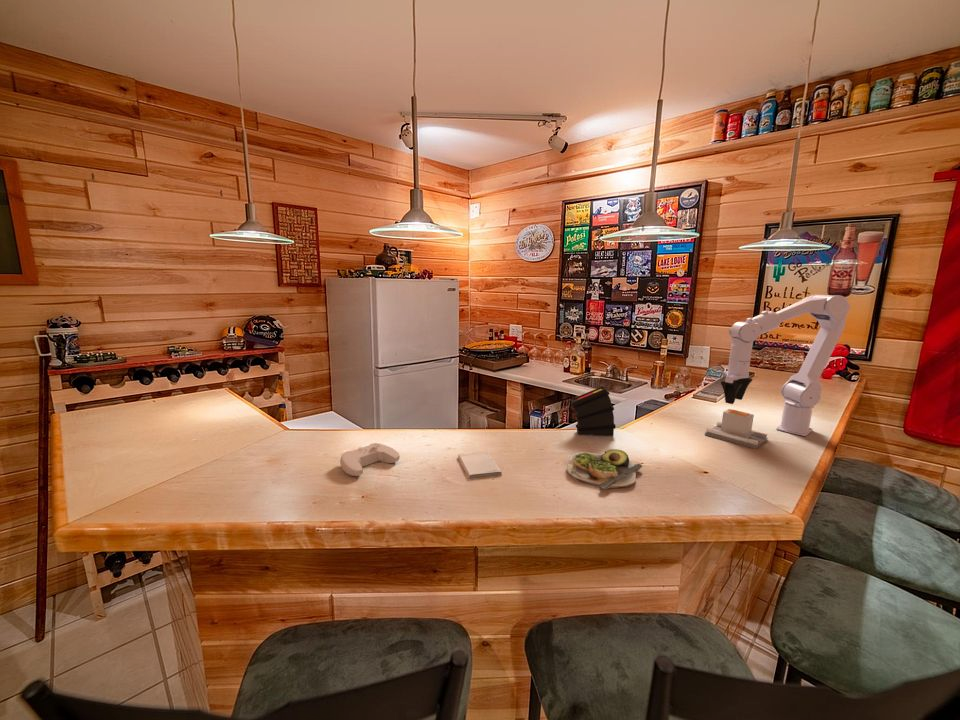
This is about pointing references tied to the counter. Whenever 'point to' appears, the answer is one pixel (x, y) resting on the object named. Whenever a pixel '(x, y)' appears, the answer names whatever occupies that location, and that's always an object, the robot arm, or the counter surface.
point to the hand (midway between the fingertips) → (733, 401)
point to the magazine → (594, 413)
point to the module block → (737, 423)
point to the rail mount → (737, 437)
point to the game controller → (367, 457)
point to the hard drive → (479, 465)
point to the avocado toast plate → (604, 468)
